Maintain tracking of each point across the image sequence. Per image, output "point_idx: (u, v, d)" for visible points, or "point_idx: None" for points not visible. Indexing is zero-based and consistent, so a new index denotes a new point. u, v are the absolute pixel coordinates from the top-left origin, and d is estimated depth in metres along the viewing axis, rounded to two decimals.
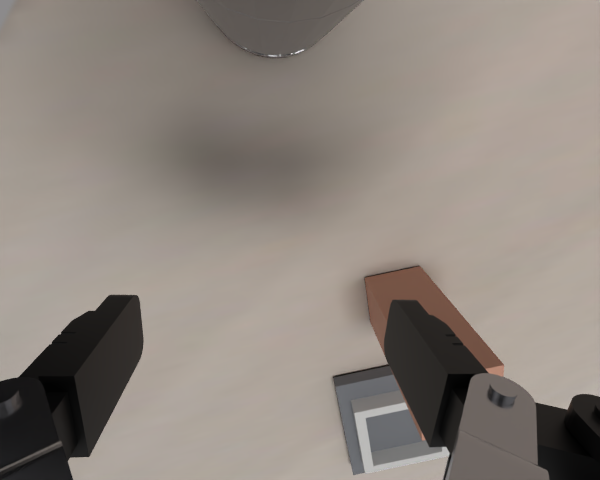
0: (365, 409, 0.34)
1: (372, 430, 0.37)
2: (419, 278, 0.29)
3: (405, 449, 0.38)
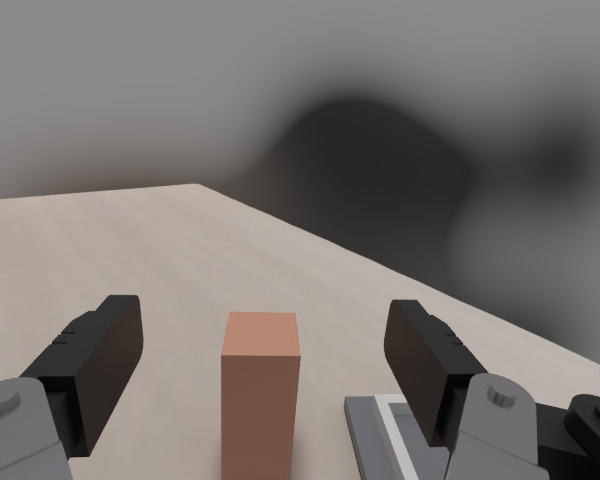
0: None
1: None
2: None
3: None
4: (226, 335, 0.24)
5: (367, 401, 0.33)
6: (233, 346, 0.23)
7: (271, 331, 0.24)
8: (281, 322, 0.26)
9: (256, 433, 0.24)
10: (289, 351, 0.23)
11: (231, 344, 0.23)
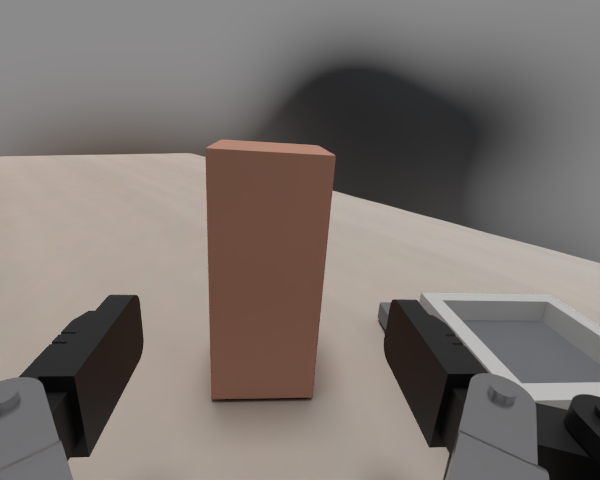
0: None
1: None
2: None
3: (589, 348, 0.20)
4: (215, 143, 0.15)
5: None
6: (225, 147, 0.14)
7: (285, 147, 0.16)
8: (299, 146, 0.17)
9: (264, 302, 0.16)
10: (316, 153, 0.14)
11: (222, 146, 0.14)
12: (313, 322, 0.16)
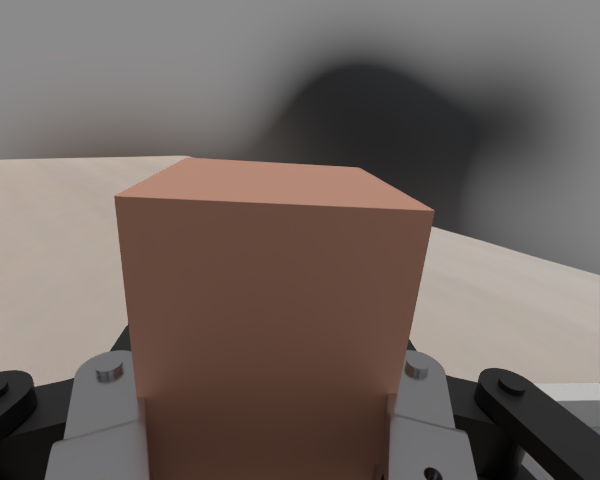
0: None
1: None
2: None
3: None
4: (159, 173, 0.07)
5: None
6: (173, 187, 0.06)
7: (307, 178, 0.08)
8: (329, 172, 0.09)
9: None
10: (385, 202, 0.06)
11: (168, 184, 0.06)
12: None
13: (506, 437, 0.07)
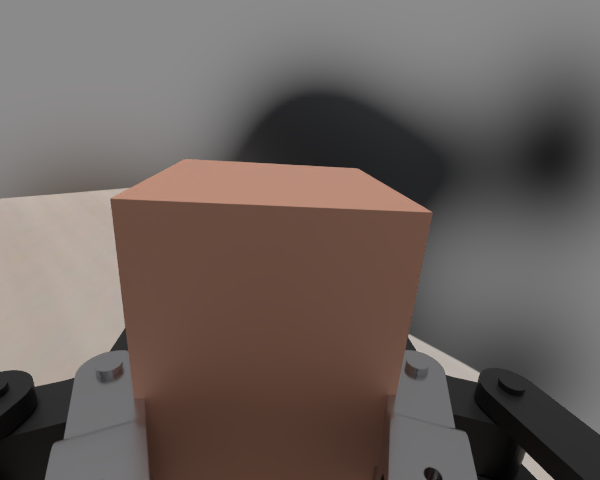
0: None
1: None
2: None
3: None
4: (156, 175, 0.07)
5: None
6: (169, 189, 0.06)
7: (305, 179, 0.08)
8: (328, 173, 0.09)
9: None
10: (383, 204, 0.06)
11: (165, 187, 0.06)
12: None
13: (506, 437, 0.07)
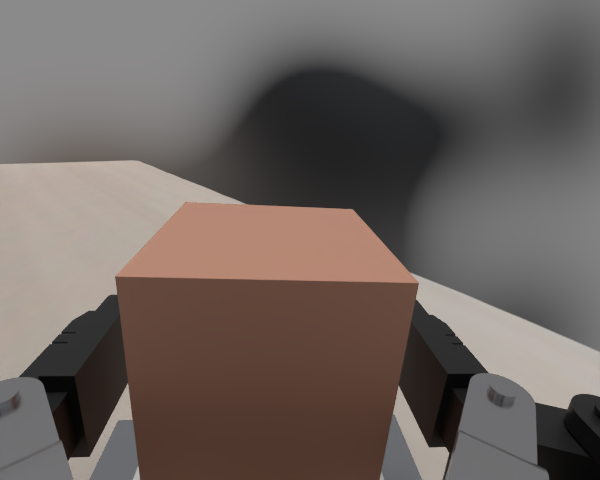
0: None
1: None
2: None
3: None
4: (158, 234, 0.07)
5: None
6: (171, 257, 0.06)
7: (300, 231, 0.08)
8: (323, 219, 0.09)
9: None
10: (372, 271, 0.06)
11: (166, 253, 0.07)
12: None
13: None
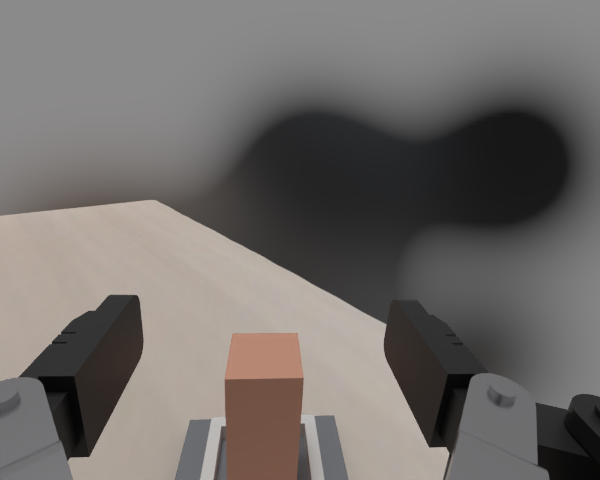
0: None
1: None
2: None
3: (308, 468, 0.29)
4: (229, 358, 0.24)
5: None
6: (236, 370, 0.23)
7: (274, 352, 0.25)
8: (283, 343, 0.26)
9: (261, 456, 0.24)
10: (292, 373, 0.23)
11: (234, 368, 0.23)
12: (294, 465, 0.25)
13: None
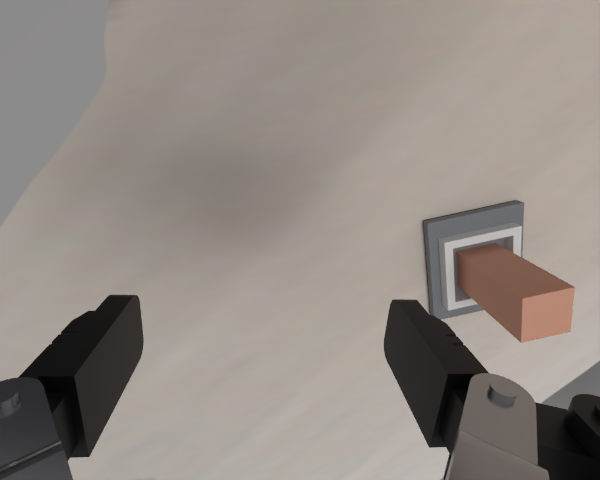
0: (453, 240, 0.41)
1: (453, 272, 0.44)
2: (498, 249, 0.42)
3: None
4: (543, 294, 0.32)
5: (518, 219, 0.43)
6: (530, 302, 0.33)
7: (547, 321, 0.33)
8: (558, 325, 0.34)
9: (481, 288, 0.39)
10: (525, 335, 0.34)
11: (533, 301, 0.32)
12: (477, 301, 0.41)
13: None
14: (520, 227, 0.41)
